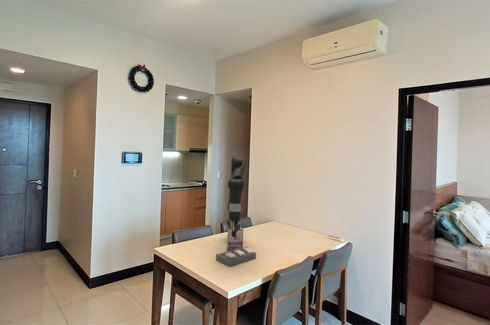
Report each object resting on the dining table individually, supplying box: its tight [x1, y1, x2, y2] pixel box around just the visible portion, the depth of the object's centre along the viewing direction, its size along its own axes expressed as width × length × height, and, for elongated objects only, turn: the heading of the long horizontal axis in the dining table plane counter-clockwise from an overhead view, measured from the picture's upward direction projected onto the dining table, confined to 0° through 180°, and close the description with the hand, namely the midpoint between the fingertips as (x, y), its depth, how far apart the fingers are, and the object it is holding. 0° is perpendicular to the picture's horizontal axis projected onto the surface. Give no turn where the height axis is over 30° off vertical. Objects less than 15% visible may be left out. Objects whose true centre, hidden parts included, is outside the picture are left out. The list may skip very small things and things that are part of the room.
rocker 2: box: [234, 249, 245, 256], centre depth 184 cm, size 6×4×2 cm, turn 44°
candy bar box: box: [226, 227, 244, 251], centre depth 205 cm, size 11×5×16 cm, turn 101°
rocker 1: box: [225, 252, 236, 258], centre depth 179 cm, size 6×4×2 cm, turn 44°
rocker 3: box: [243, 246, 254, 254], centre depth 190 cm, size 6×4×2 cm, turn 44°
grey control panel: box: [215, 247, 257, 268], centre depth 186 cm, size 14×24×4 cm, turn 134°
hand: (233, 236), depth 177 cm, fingers closed
